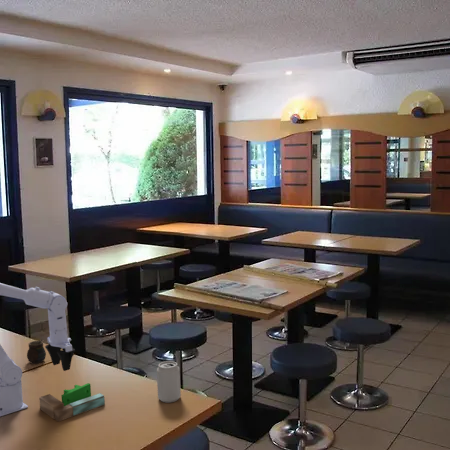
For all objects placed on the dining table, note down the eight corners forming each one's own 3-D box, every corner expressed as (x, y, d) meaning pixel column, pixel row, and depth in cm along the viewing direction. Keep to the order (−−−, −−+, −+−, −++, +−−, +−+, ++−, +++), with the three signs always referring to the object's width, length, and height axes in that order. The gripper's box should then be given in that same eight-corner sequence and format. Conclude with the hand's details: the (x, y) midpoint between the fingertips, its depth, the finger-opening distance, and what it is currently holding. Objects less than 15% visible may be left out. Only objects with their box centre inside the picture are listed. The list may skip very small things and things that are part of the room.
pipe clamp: (83, 394, 187) (83, 381, 187) (91, 396, 185) (90, 383, 185) (56, 406, 178) (56, 392, 178) (64, 409, 176) (63, 395, 175)
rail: (58, 421, 167) (57, 411, 166) (54, 418, 169) (53, 409, 168) (104, 405, 178) (104, 395, 177) (100, 402, 180) (100, 393, 179)
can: (185, 398, 181) (184, 363, 180) (168, 405, 175) (166, 369, 174) (170, 392, 186) (168, 358, 185) (153, 399, 181) (151, 364, 179)
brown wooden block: (53, 419, 169) (53, 406, 168) (40, 409, 176) (39, 397, 176) (65, 414, 171) (64, 402, 171) (51, 405, 179) (50, 393, 178)
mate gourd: (36, 357, 224) (34, 334, 223) (50, 360, 221) (49, 336, 220) (23, 363, 218) (21, 339, 216) (38, 366, 215) (36, 341, 213)
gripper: (79, 329, 182) (82, 369, 184) (59, 321, 193) (62, 358, 194) (59, 335, 177) (62, 375, 179) (40, 326, 188) (43, 364, 190)
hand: (61, 367), depth 186 cm, fingers open, 7 cm apart
